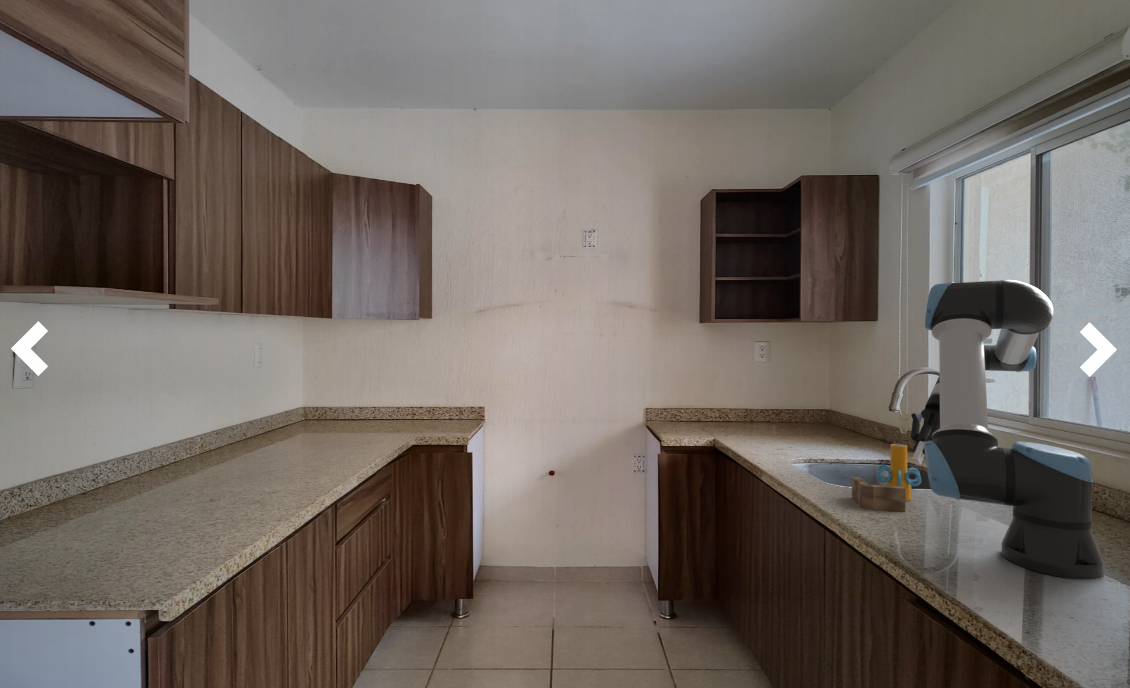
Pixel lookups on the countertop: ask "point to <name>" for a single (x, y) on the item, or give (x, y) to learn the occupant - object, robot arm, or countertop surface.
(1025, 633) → the countertop surface
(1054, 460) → the robot arm
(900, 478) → the yellow and blue tube
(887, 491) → the v block
